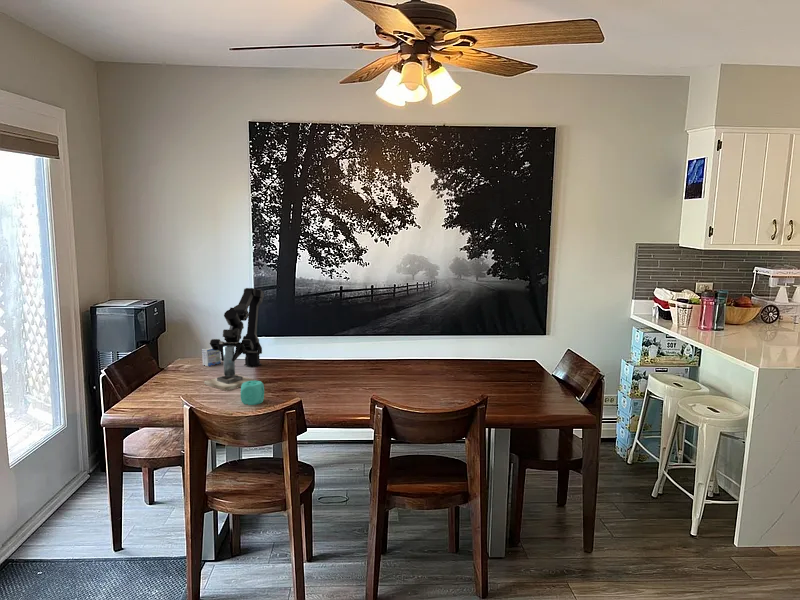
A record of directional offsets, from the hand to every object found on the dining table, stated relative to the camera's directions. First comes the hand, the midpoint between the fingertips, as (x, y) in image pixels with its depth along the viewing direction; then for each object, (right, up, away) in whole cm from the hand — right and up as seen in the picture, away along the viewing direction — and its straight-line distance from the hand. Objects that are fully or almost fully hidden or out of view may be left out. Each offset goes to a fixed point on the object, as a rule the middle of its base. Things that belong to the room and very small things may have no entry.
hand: (227, 360), depth 267 cm
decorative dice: (+17, -15, -24) cm, 33 cm away
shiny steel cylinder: (0, -6, +2) cm, 7 cm away
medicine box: (-19, -6, +38) cm, 42 cm away
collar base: (0, -11, +3) cm, 11 cm away
